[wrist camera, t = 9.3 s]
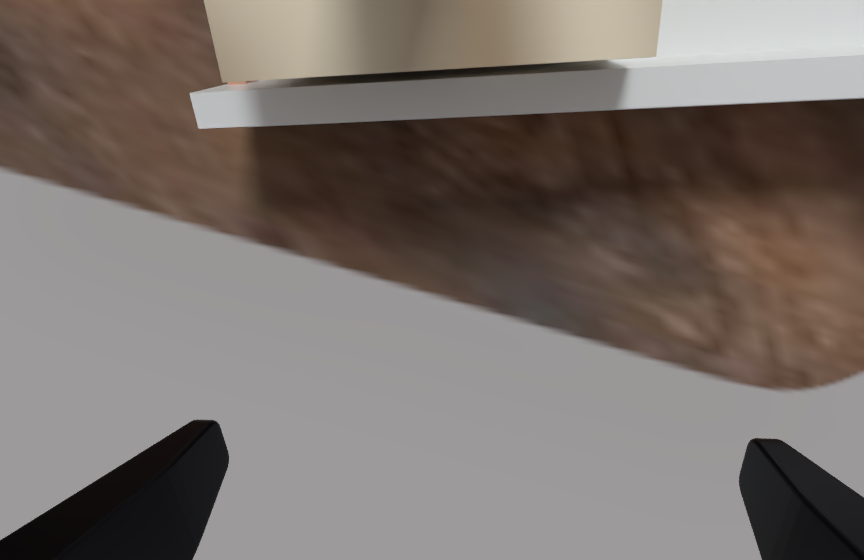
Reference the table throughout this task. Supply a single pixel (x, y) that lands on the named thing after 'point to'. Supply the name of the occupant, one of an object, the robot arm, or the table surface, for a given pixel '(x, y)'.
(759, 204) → the table surface
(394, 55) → the beige knobbed block
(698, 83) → the bay
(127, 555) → the robot arm
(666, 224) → the table surface
